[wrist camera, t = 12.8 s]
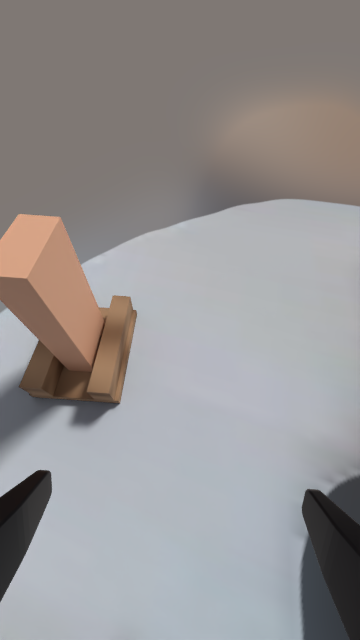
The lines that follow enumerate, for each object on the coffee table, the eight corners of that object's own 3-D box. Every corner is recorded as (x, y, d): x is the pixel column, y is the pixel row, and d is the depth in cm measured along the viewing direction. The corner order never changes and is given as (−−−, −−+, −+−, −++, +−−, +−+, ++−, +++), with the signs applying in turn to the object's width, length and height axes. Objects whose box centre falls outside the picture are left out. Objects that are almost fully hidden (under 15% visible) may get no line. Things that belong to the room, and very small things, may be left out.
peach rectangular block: (95, 372, 22) (26, 278, 12) (69, 370, 22) (-25, 274, 11) (106, 327, 25) (60, 217, 14) (83, 325, 25) (18, 214, 14)
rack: (119, 403, 22) (113, 393, 19) (33, 397, 22) (14, 386, 19) (136, 314, 27) (133, 297, 24) (67, 309, 27) (56, 291, 24)
